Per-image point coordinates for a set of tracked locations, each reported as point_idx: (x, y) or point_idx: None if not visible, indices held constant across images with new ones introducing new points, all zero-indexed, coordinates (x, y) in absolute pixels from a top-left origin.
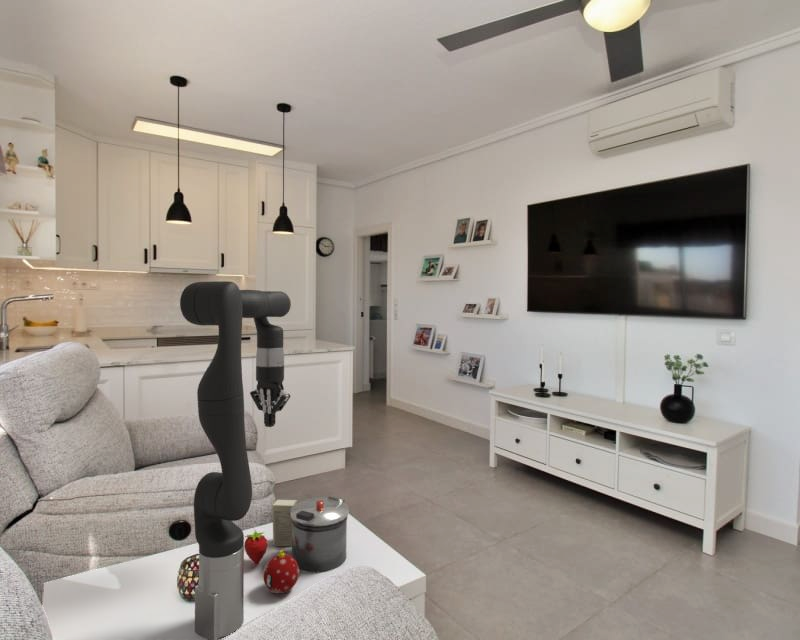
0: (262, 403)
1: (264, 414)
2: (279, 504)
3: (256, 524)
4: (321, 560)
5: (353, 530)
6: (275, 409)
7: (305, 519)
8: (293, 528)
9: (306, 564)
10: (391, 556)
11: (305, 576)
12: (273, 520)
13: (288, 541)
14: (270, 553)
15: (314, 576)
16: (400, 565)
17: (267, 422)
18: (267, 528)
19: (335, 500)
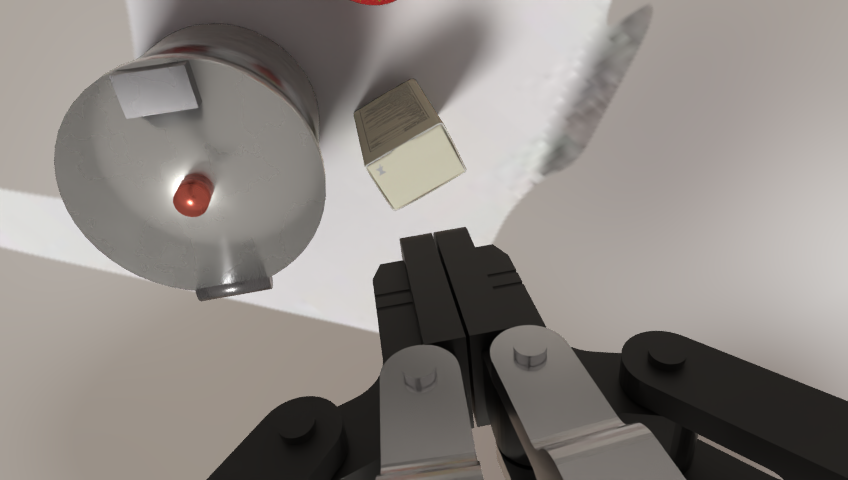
0: (613, 443)
1: (534, 324)
2: (418, 142)
3: (569, 138)
4: None
5: (285, 290)
6: (266, 451)
7: (130, 69)
8: (242, 63)
9: (178, 33)
10: (69, 254)
11: (159, 4)
12: (425, 103)
13: (367, 109)
14: (379, 36)
15: (137, 23)
16: (3, 234)
17: (432, 259)
18: (518, 142)
19: (224, 279)
